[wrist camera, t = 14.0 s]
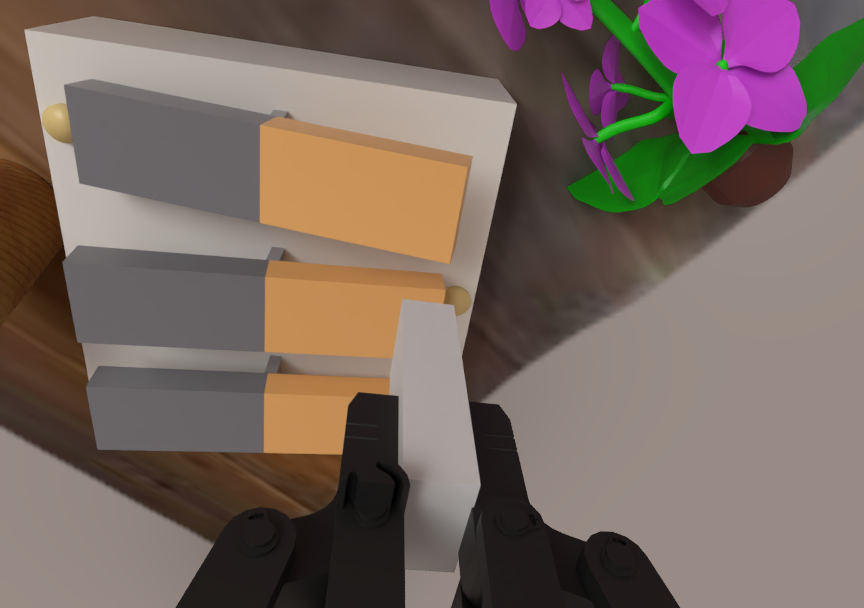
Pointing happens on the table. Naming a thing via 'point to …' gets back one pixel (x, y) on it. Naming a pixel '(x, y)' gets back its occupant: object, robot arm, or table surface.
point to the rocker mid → (239, 302)
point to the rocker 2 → (222, 410)
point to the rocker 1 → (269, 169)
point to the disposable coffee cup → (24, 232)
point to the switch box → (279, 96)
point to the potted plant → (697, 94)
